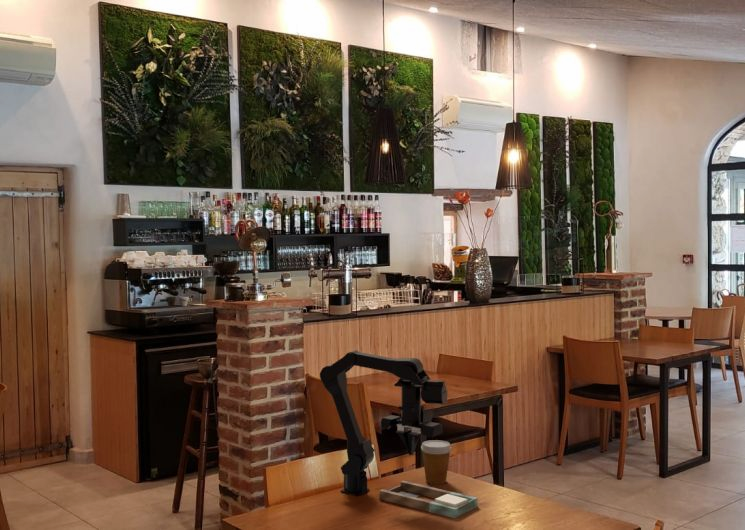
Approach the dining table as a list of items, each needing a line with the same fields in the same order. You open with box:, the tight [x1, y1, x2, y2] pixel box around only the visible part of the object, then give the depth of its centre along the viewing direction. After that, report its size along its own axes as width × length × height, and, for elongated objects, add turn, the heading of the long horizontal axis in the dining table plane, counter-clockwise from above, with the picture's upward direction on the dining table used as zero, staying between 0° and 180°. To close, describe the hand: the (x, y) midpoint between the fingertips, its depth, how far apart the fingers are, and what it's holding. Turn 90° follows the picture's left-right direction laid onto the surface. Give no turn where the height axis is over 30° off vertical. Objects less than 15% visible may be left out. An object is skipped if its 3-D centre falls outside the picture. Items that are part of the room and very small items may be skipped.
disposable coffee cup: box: [420, 439, 452, 485], centre depth 255 cm, size 10×10×12 cm
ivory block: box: [434, 494, 468, 507], centre depth 230 cm, size 7×6×4 cm
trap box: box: [379, 480, 479, 519], centre depth 236 cm, size 26×12×2 cm, turn 52°
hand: (411, 454), depth 239 cm, fingers closed
